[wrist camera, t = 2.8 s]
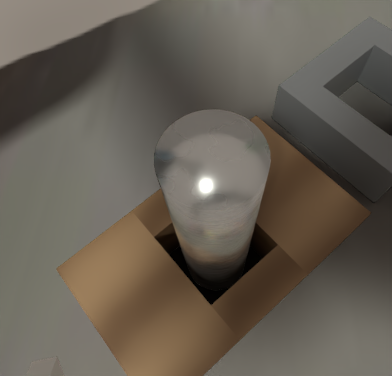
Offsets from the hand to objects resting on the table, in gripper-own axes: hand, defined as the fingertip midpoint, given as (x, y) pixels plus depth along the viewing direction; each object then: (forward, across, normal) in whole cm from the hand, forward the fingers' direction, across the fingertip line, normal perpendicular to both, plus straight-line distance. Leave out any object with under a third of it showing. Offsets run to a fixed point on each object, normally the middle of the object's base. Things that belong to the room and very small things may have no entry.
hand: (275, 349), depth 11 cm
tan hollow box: (+19, 0, -8) cm, 21 cm away
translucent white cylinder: (+19, 0, -8) cm, 21 cm away
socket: (+27, +17, 0) cm, 32 cm away
